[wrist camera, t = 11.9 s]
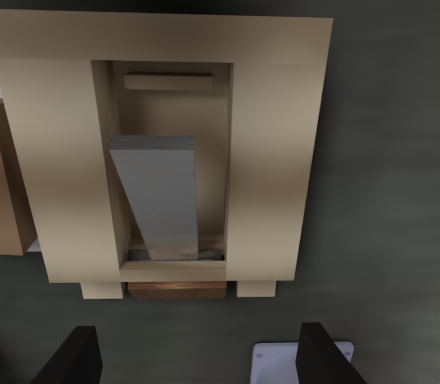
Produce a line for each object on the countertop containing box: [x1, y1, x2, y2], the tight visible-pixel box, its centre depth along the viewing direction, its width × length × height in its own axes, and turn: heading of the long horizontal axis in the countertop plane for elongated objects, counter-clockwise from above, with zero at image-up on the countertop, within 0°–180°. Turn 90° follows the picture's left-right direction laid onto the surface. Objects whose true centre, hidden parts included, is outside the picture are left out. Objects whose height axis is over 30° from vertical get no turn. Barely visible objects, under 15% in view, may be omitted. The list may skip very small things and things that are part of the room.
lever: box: [109, 135, 227, 299], centre depth 16 cm, size 15×6×2 cm
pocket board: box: [0, 9, 333, 299], centre depth 18 cm, size 17×13×4 cm
